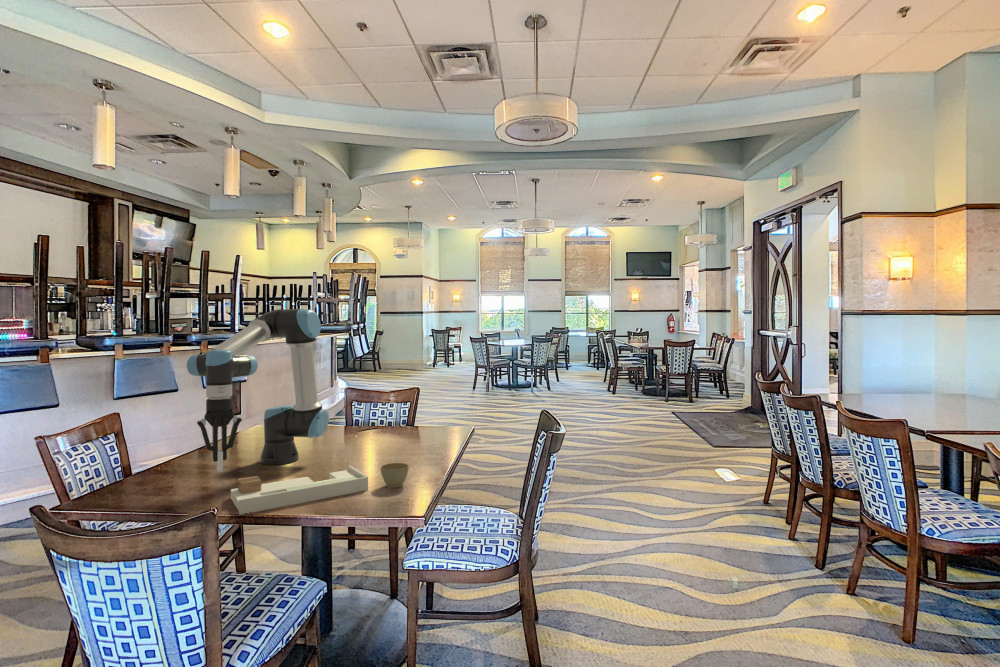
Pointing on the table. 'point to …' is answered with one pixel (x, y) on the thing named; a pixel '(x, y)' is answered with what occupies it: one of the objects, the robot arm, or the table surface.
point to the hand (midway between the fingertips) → (219, 470)
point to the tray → (299, 491)
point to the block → (249, 484)
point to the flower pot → (394, 474)
